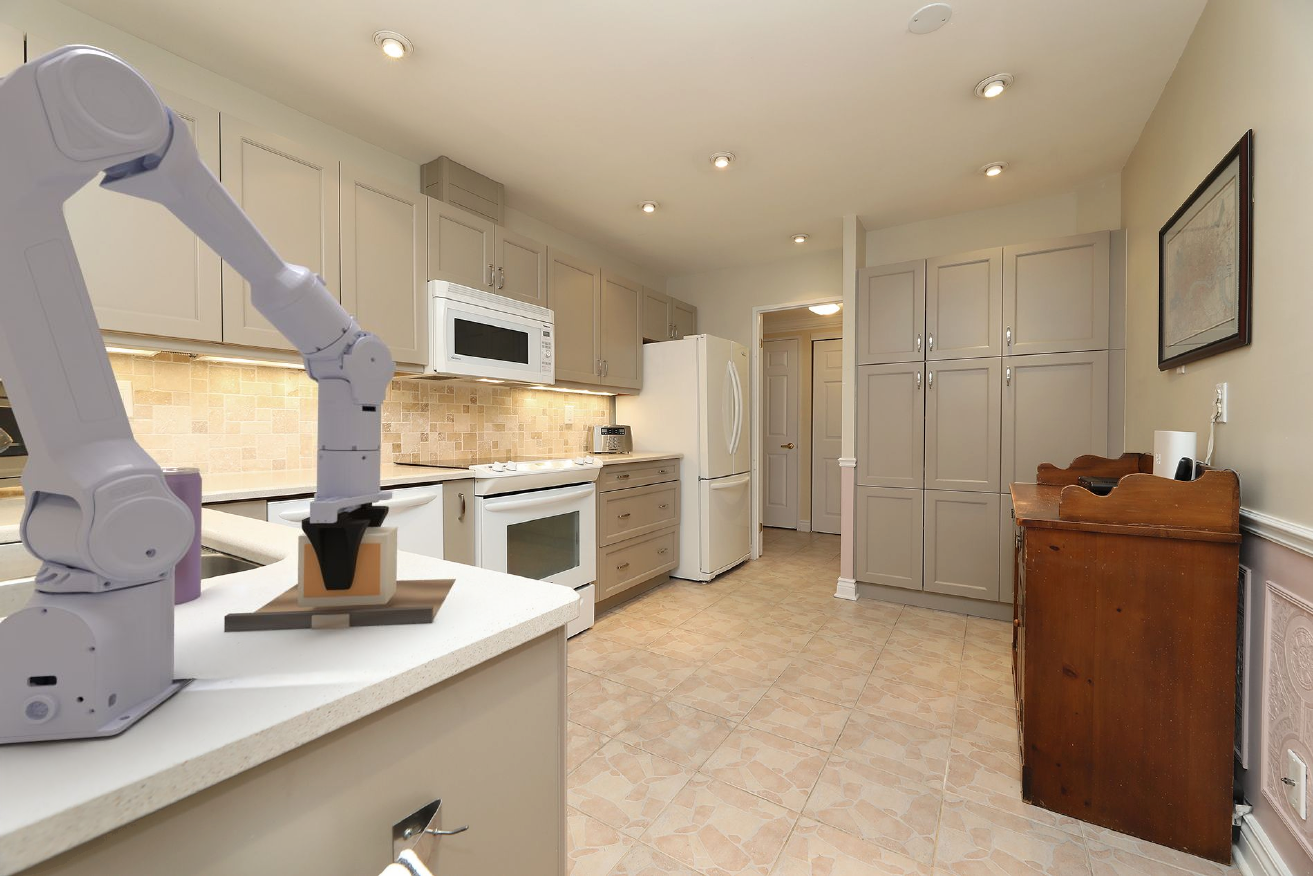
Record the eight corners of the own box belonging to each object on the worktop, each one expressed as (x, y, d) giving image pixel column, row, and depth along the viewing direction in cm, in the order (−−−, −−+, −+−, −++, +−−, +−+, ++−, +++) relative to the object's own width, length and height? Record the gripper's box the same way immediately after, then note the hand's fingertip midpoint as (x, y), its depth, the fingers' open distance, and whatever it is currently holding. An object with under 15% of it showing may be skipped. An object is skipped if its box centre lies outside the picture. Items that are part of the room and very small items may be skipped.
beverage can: (214, 601, 63) (216, 468, 63) (163, 619, 57) (164, 472, 57) (166, 598, 64) (167, 466, 63) (110, 616, 58) (111, 470, 57)
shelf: (430, 634, 55) (431, 609, 55) (222, 643, 51) (222, 617, 51) (455, 586, 71) (456, 567, 71) (298, 591, 67) (298, 571, 67)
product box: (385, 604, 57) (386, 535, 56) (296, 608, 55) (297, 536, 55) (396, 590, 61) (397, 526, 61) (314, 593, 59) (315, 527, 59)
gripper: (370, 453, 51) (368, 601, 52) (408, 447, 66) (406, 563, 66) (284, 452, 50) (282, 604, 50) (341, 446, 64) (340, 565, 64)
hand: (347, 581), depth 58 cm, fingers closed on product box, 5 cm apart
